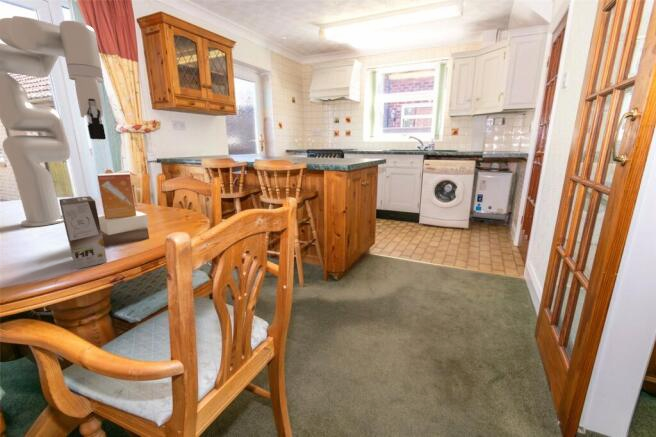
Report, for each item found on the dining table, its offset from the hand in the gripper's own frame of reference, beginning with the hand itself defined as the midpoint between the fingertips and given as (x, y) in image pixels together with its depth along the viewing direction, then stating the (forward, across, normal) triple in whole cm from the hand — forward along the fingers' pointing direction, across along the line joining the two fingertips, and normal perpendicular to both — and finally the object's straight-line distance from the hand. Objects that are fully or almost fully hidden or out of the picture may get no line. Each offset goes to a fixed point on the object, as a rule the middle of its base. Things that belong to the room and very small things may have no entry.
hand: (97, 139), depth 86 cm
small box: (+23, +1, +2) cm, 23 cm away
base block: (+31, +1, +2) cm, 31 cm away
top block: (+27, +1, +2) cm, 27 cm away
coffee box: (+31, +18, -7) cm, 36 cm away
